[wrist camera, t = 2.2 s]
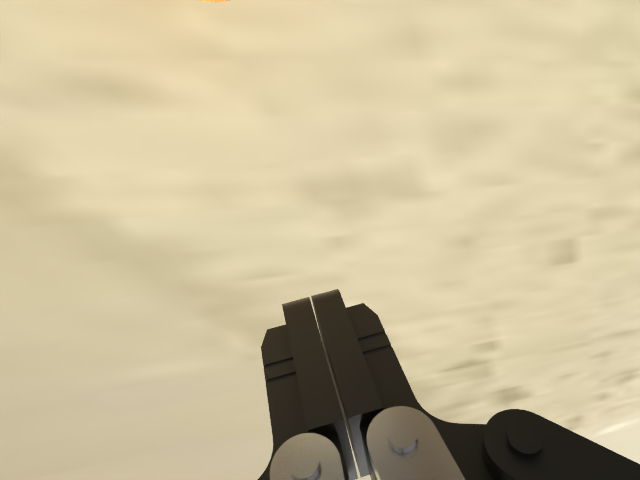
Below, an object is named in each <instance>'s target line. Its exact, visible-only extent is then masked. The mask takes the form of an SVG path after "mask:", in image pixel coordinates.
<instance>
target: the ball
mask: <svg viewBox="0 0 640 480" xmlns="http://www.w3.org/2000/svg"><path fill="white" fill-rule="evenodd" d="M201 1H207V2H223V1H229V0H201Z"/></svg>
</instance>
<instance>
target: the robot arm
mask: <svg viewBox="0 0 640 480" xmlns="http://www.w3.org/2000/svg"><path fill="white" fill-rule="evenodd" d="M311 297H312V301H313V306H314V310H315V314H316V318H317V322H318V326H319V329H318V326H317V322H316V319H315V315H314V312H313V308H312V305H311V302H310V298H309V297H307V298H304V299H300V300H296V301H293V302H289V303H285V304H282V306H283V311H284V316H285V321H286V325H282V326H279V327H275V328H272V329H268V330H267V332H266V334H265V337H264V340H263V343H262V346H261V351H262V358H263V365H264V373H265V380H266V388H267V396H268V404H269V411H270V419H271V426H272V434H273V452H272V456H271V459H270V462H269V464H268V466H267V468H266V470H265V471H264V473H263V474H262V475H261V477H260V478H259V479H258V480H354V479H357V478H358V476H357V472H356V467H355V463H354V459H353V454H352V450H351V446H350V441H351V445H352V448H353V452H354V455H355V459H356V462H357V465H358V469H359V472H360V476H361V477H363V476H366V475H370V476H371V479H372V480H640V464H638V463H636V462H634V461H632V460H630V459H628V458H626V457H624V456H622V455H619V454H617V453H615V452H613V451H611V450H609V449H607V448H605V447H603V446H601V445H599V444H597V443H595V442H593V441H591V440H589V439H587V438H584V437H582V436H580V435H578V434H576V433H574V432H572V431H570V430H568V429H566V428H564V427H562V426H560V425H558V424H556V423H554V422H552V421H549V420H547V419H545V418H543V417H541V416H539V415H537V414H535V413H532V412H529V411H526V410H520V409H509V410H504V411H501V412H499V413H497V414H495V415H494V416H493V417H492V418H491V419H490V420H489V421H488V423H487V425H486V424H458V423H450V422H446V421H443V420H440V419H437V418H436V417H434V416H432V415H430V414H429V413H428V412H426V411H425V410H424V409H423V408H422V407H421V406H420V404H419V403H418V402H417V400H416V398H415V396H414V394H413V392H412V390H411V387H410V385H409V383H408V381H407V379H406V376H405V374H404V372H403V370H402V368H401V366H400V363H399V361H398V359H397V357H396V355H395V352H394V350H393V348H392V347H391V344H390V341H389V339H388V337H387V335H386V334H385V331H384V328H383V326H382V324H381V322H380V320H379V317H378V315H377V314H376V313H374V312H373V311H372V310H371V309H370V308H368V307H367V306H366V305H365V304H364V303H362V304H358V305H355V306H351V307H347V308H346V307H345V305H344V302H343V299H342V297H341V294H340V292H339V290H338V289H336V290H333V291H329V292H325V293H322V294H318V295H314V296H311ZM319 331H320V333H319ZM320 335H321V336H320ZM321 339H322V340H321ZM346 427H347V429H346ZM347 431H348V433H347ZM348 434H349V437H348ZM349 438H350V441H349Z"/></svg>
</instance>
